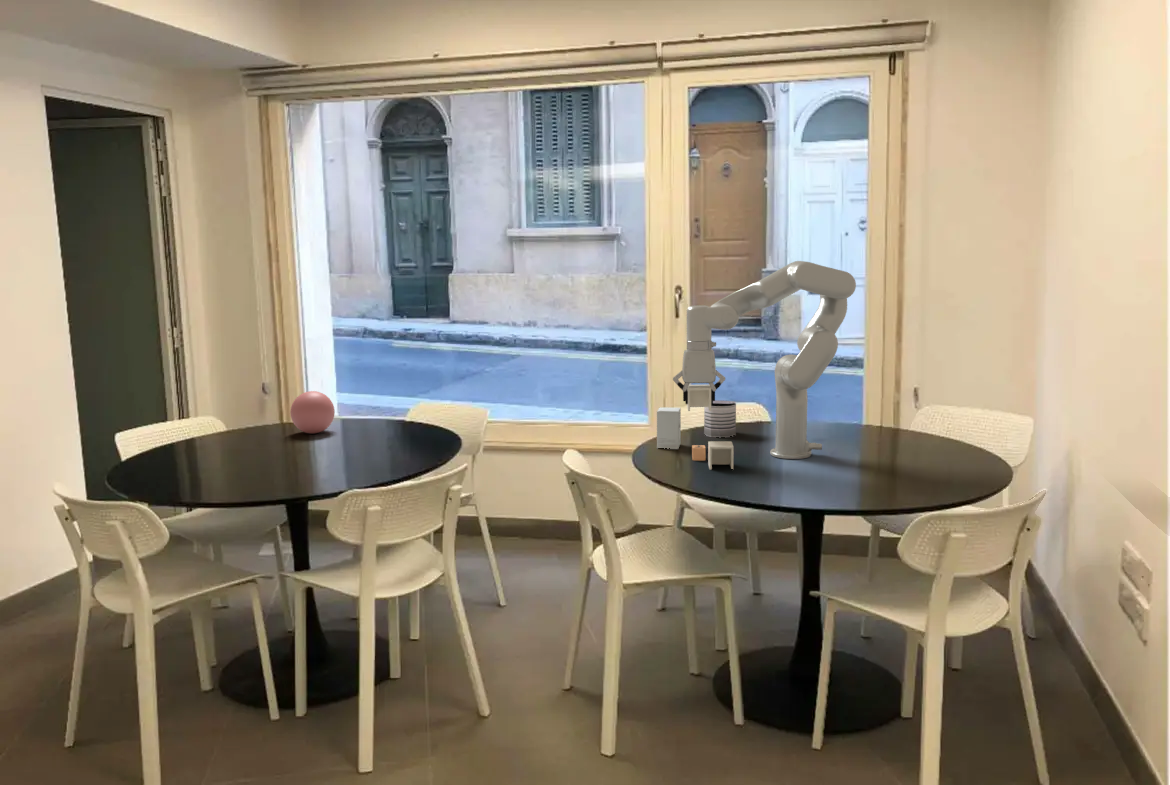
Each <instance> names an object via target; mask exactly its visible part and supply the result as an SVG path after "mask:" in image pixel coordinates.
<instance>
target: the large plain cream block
mask: <svg viewBox="0 0 1170 785" xmlns="http://www.w3.org/2000/svg"><path fill="white" fill-rule="evenodd" d="M687 391H688V404H686V408H687V412H691V408H704V407H708V409H709V411H711V387H710V385H709V384H689V386H688V388H687Z"/></svg>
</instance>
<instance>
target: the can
mask: <svg viewBox="0 0 1170 785" xmlns="http://www.w3.org/2000/svg"><path fill="white" fill-rule="evenodd" d="M703 408H704V409H703V410H704V411H703V415H704V418H703V419H704V421H703V422H704V423H703V426H704V427H703V429H704V430H703V434H705V435H706V436H705V435H704V436H705V437H710V438H716V437H719V438H718V439H721V437H725V438H731V437H730V436H732V437H734V436H733V435H735V436H737V434H736V433H737V430H736V429H737V428H736V427H737V426H736V425H737V401H731V400H716V399H715V401H713V404H711V411H709V409H708V407H703Z"/></svg>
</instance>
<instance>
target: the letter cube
mask: <svg viewBox="0 0 1170 785" xmlns="http://www.w3.org/2000/svg"><path fill="white" fill-rule="evenodd" d="M706 448H707V447H706V445H704V444H703V445H702V444H700V445H699V444H696V445H695V444H693V445H692V444H691V457H692V459H691V460H692V461H706V458H707V457H706V451H707V450H706Z"/></svg>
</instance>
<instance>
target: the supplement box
mask: <svg viewBox="0 0 1170 785" xmlns="http://www.w3.org/2000/svg"><path fill="white" fill-rule="evenodd" d="M681 410H682V409H681V407H658V409H657V411H656V449H658V448H664V449H663V450H679V447H680V445H681V438H682V437H681V432H682V429H681V426H682V425H681V421H682V420H681V417H682V416H681ZM665 448H667V449H665ZM669 448H670V449H669Z"/></svg>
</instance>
